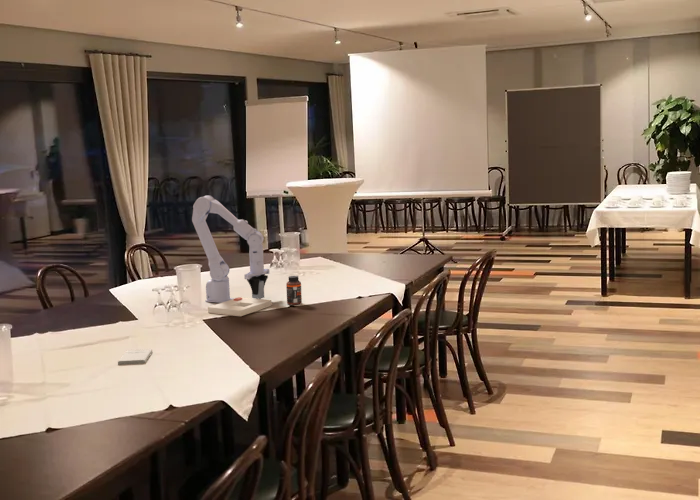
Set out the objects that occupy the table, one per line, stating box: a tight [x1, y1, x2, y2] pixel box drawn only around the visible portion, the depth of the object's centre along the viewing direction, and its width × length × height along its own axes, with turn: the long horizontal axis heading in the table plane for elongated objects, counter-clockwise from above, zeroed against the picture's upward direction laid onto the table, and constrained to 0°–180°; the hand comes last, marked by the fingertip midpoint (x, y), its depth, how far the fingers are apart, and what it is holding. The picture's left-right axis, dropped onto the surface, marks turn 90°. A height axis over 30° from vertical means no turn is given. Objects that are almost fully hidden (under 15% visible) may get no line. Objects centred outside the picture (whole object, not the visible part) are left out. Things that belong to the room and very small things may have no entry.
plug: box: [251, 281, 265, 299], centre depth 320 cm, size 4×3×8 cm
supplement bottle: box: [285, 275, 303, 306], centre depth 311 cm, size 6×6×11 cm
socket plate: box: [207, 296, 272, 317], centre depth 306 cm, size 16×20×3 cm
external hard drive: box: [117, 348, 153, 366], centre depth 242 cm, size 2×8×12 cm
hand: (258, 293), depth 321 cm, fingers closed on plug, 3 cm apart
